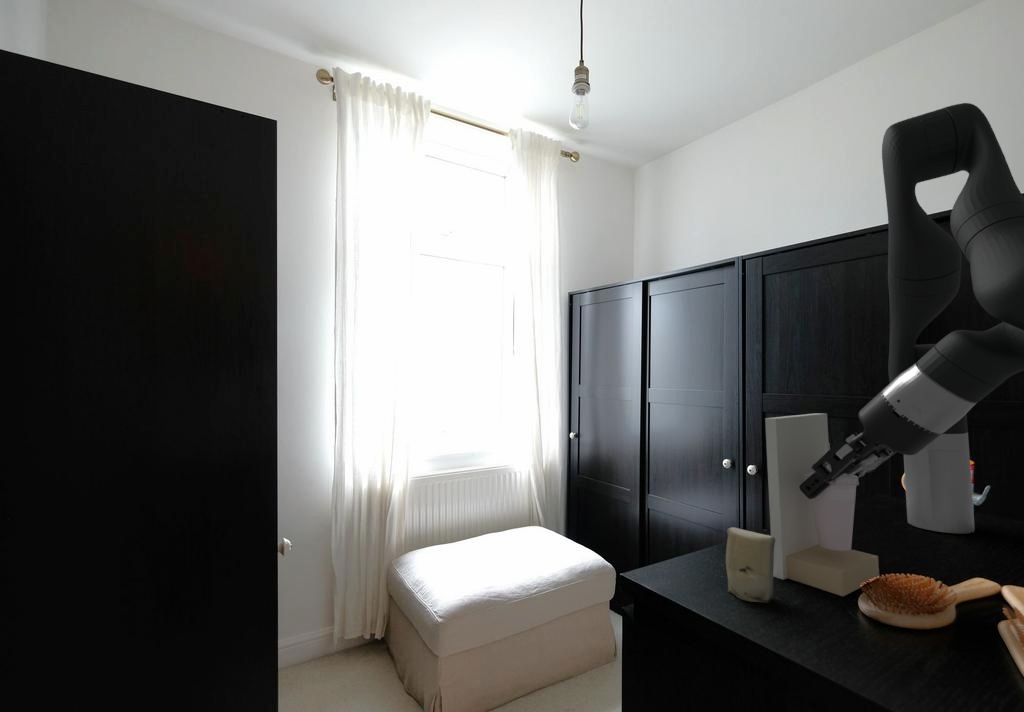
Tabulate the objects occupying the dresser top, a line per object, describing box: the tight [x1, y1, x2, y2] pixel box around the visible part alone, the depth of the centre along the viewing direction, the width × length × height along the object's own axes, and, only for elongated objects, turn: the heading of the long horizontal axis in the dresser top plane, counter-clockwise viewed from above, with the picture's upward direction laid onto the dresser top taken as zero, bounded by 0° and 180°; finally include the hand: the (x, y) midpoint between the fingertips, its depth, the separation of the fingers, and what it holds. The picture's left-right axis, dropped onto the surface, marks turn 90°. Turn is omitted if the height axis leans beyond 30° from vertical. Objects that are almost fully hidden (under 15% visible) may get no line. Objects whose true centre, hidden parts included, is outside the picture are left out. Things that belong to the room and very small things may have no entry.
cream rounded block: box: [725, 526, 775, 604], centre depth 63 cm, size 6×5×8 cm
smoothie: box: [804, 442, 860, 551], centre depth 68 cm, size 6×6×14 cm
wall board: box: [764, 412, 880, 597], centre depth 69 cm, size 14×8×22 cm, turn 122°
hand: (818, 489), depth 69 cm, fingers closed on smoothie, 6 cm apart
